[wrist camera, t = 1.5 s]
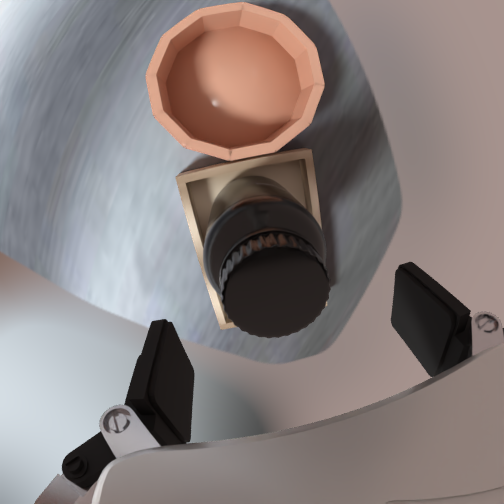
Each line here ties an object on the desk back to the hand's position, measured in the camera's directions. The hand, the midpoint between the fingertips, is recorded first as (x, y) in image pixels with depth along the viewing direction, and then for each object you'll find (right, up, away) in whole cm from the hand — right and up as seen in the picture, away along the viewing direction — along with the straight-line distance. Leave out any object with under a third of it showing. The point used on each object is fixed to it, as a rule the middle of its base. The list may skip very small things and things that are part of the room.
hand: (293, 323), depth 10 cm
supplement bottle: (-2, +6, +12) cm, 14 cm away
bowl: (-3, +15, +8) cm, 17 cm away
